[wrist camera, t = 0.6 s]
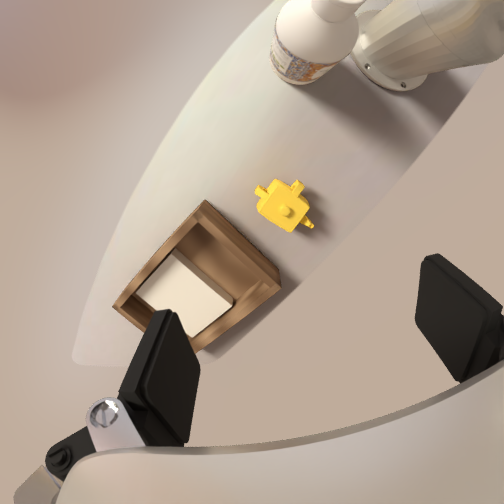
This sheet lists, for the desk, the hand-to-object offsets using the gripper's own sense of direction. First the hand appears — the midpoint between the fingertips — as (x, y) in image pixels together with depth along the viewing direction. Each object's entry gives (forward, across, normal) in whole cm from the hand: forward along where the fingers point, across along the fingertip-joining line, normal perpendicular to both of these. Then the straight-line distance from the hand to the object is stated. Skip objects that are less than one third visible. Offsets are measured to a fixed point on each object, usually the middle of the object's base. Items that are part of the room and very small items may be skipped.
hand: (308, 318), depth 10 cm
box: (+27, +13, +11) cm, 32 cm away
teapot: (+27, -2, +2) cm, 27 cm away
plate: (+27, +14, +12) cm, 33 cm away
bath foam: (+26, -7, -16) cm, 32 cm away
